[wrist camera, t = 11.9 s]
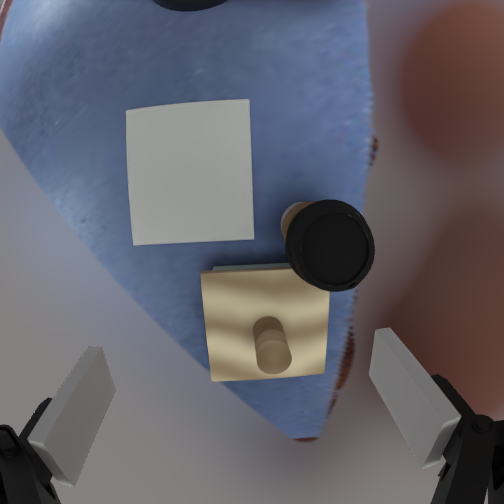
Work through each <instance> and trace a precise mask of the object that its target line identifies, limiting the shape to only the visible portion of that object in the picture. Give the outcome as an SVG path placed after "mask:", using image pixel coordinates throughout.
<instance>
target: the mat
mask: <svg viewBox="0 0 504 504" xmlns="http://www.w3.org/2000/svg"><path fill="white" fill-rule="evenodd" d="M126 146H127V172H128V189H129V203H130V216H131V226H132V236H133V245H149V244H168V243H187V242H207V241H228V240H250V239H254V216H253V188H252V160H251V133H250V106H249V99H240V100H218V101H203V102H190V103H180V104H170V105H161V106H153V107H146V108H139V109H132V110H126Z"/></svg>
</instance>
